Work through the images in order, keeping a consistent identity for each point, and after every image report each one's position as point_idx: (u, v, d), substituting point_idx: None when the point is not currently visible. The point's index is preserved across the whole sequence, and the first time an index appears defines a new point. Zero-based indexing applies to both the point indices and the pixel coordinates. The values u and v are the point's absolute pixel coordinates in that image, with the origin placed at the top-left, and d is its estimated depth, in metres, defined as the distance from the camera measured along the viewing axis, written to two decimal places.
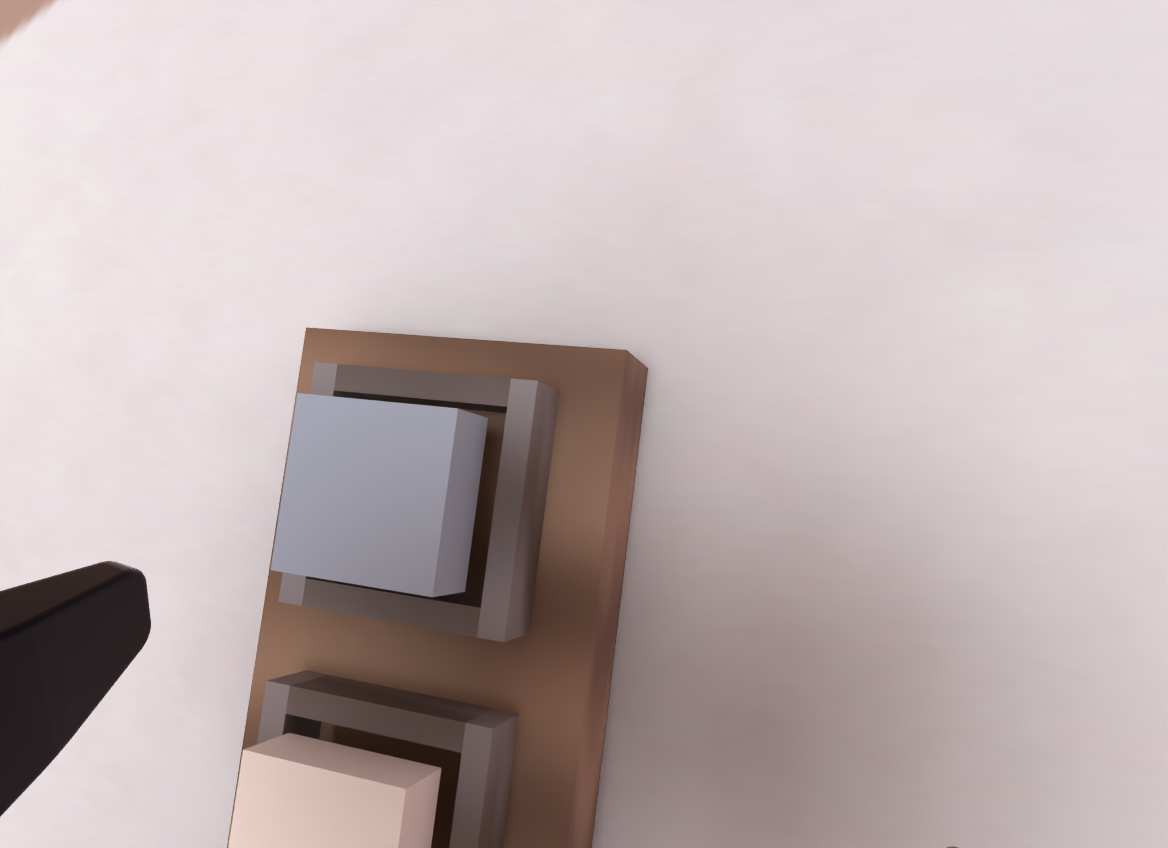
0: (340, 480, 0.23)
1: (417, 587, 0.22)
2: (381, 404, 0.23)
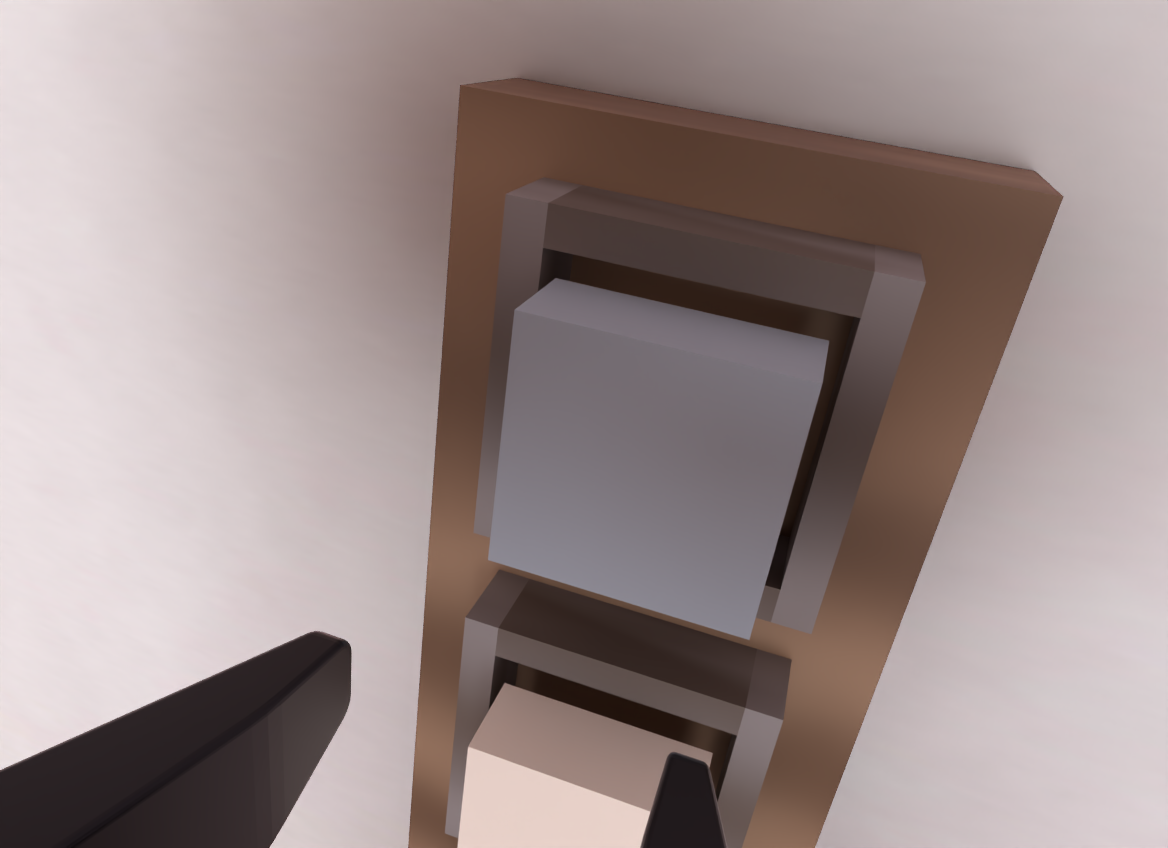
0: (598, 460, 0.14)
1: (726, 623, 0.15)
2: (675, 353, 0.13)
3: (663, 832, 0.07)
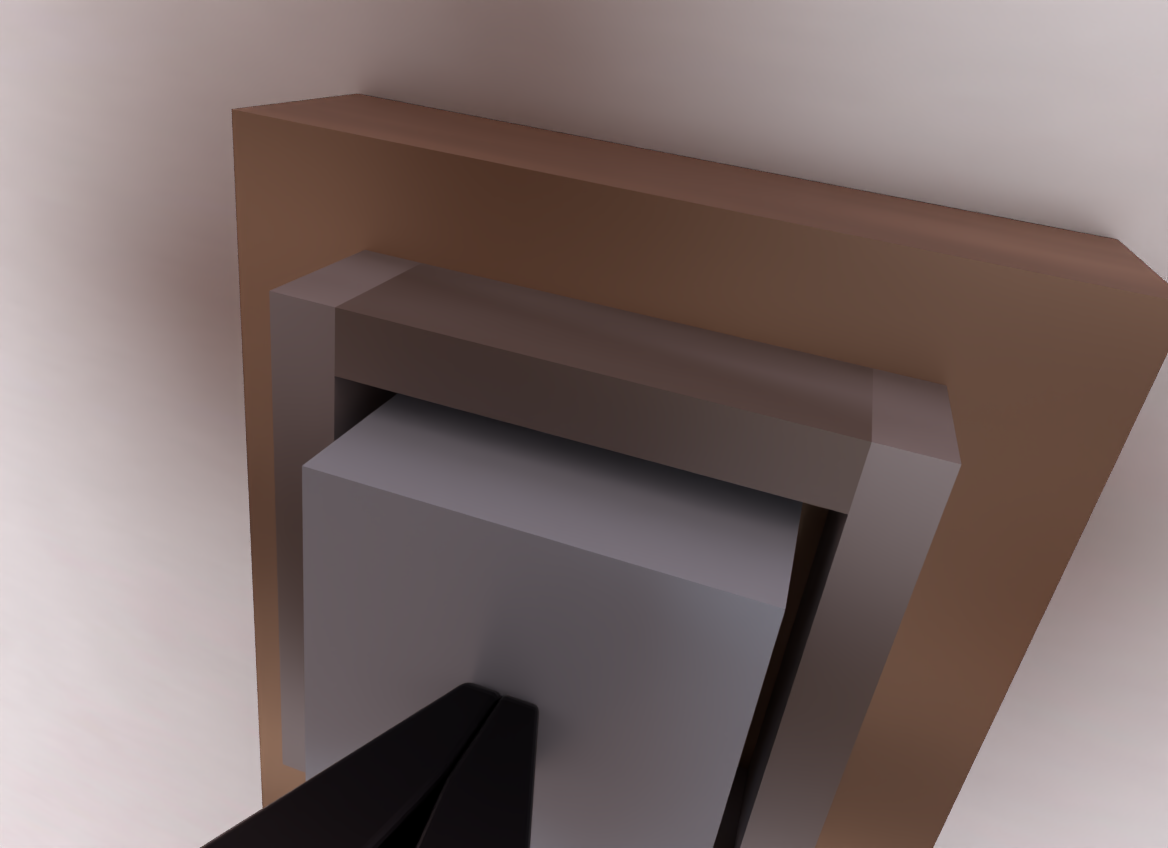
0: (446, 689, 0.09)
1: None
2: (549, 546, 0.08)
3: (472, 763, 0.08)
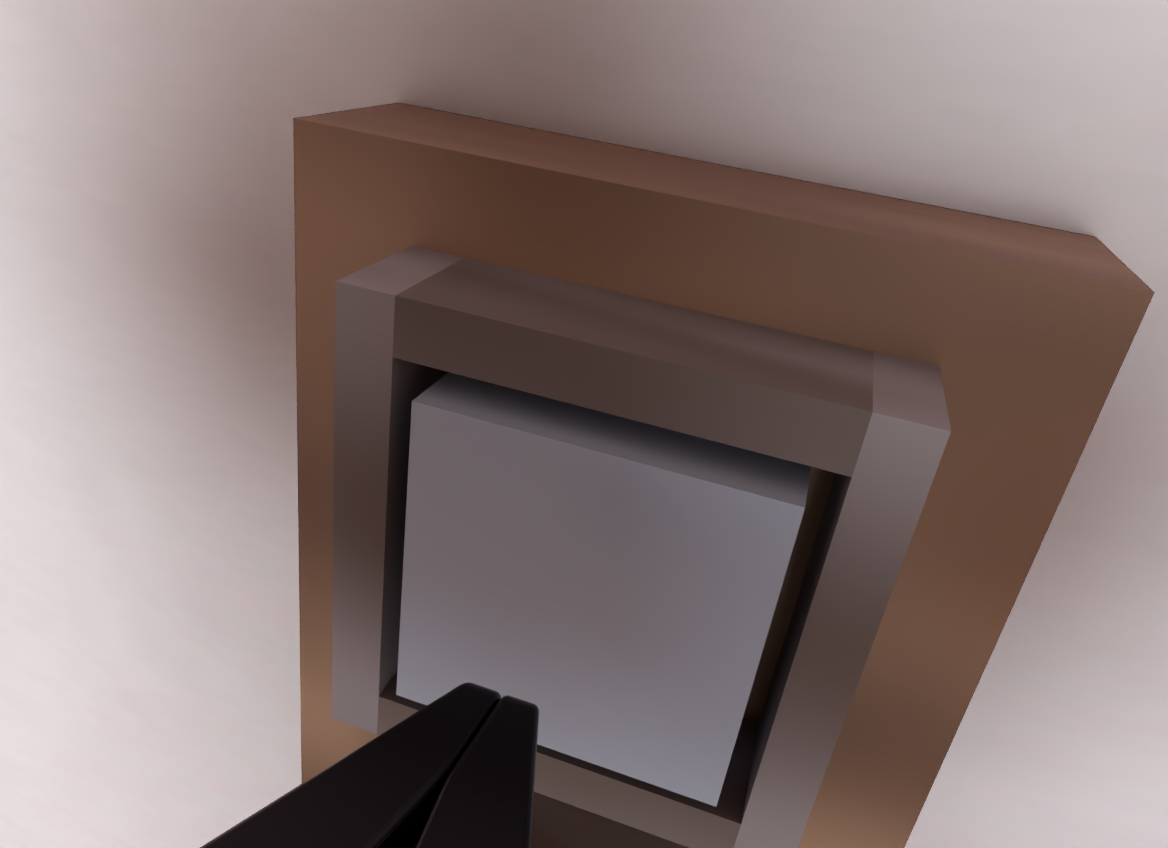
0: (524, 588, 0.11)
1: (687, 786, 0.12)
2: (614, 462, 0.10)
3: (472, 763, 0.08)
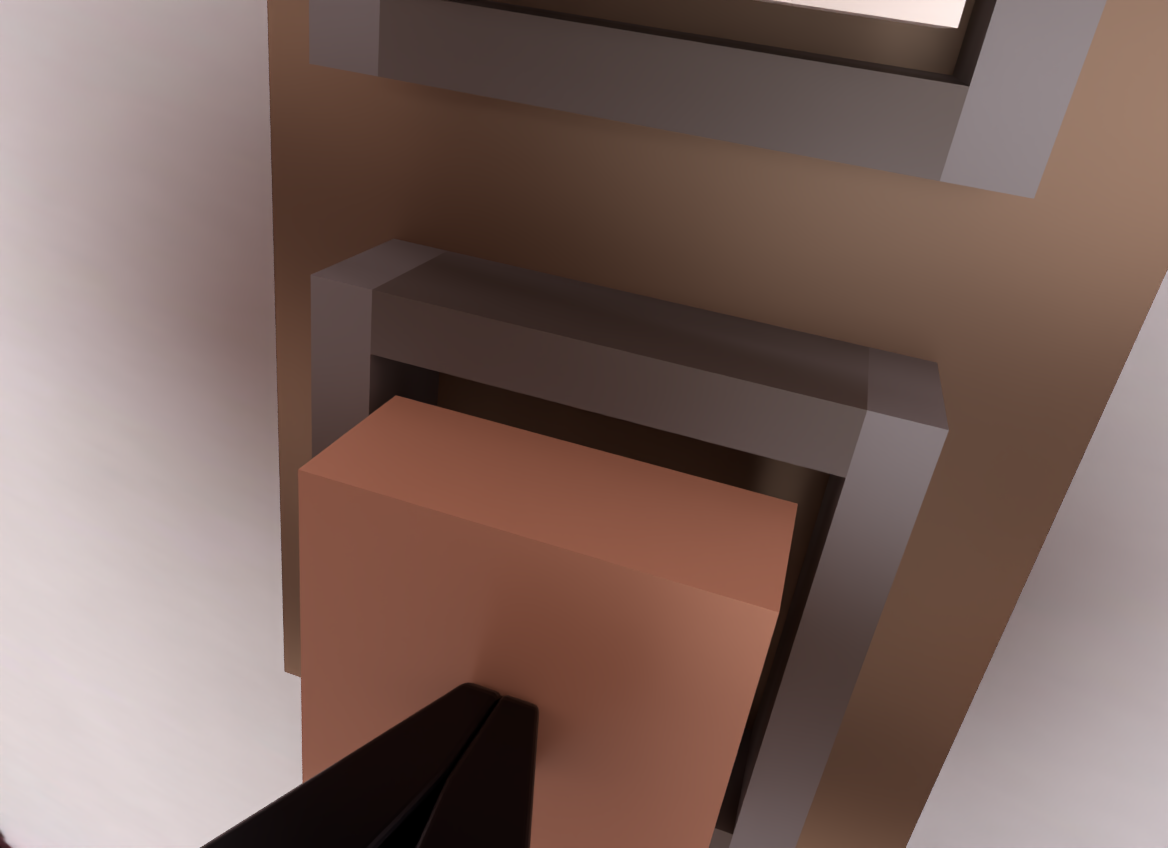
0: None
1: None
2: None
3: (472, 763, 0.08)
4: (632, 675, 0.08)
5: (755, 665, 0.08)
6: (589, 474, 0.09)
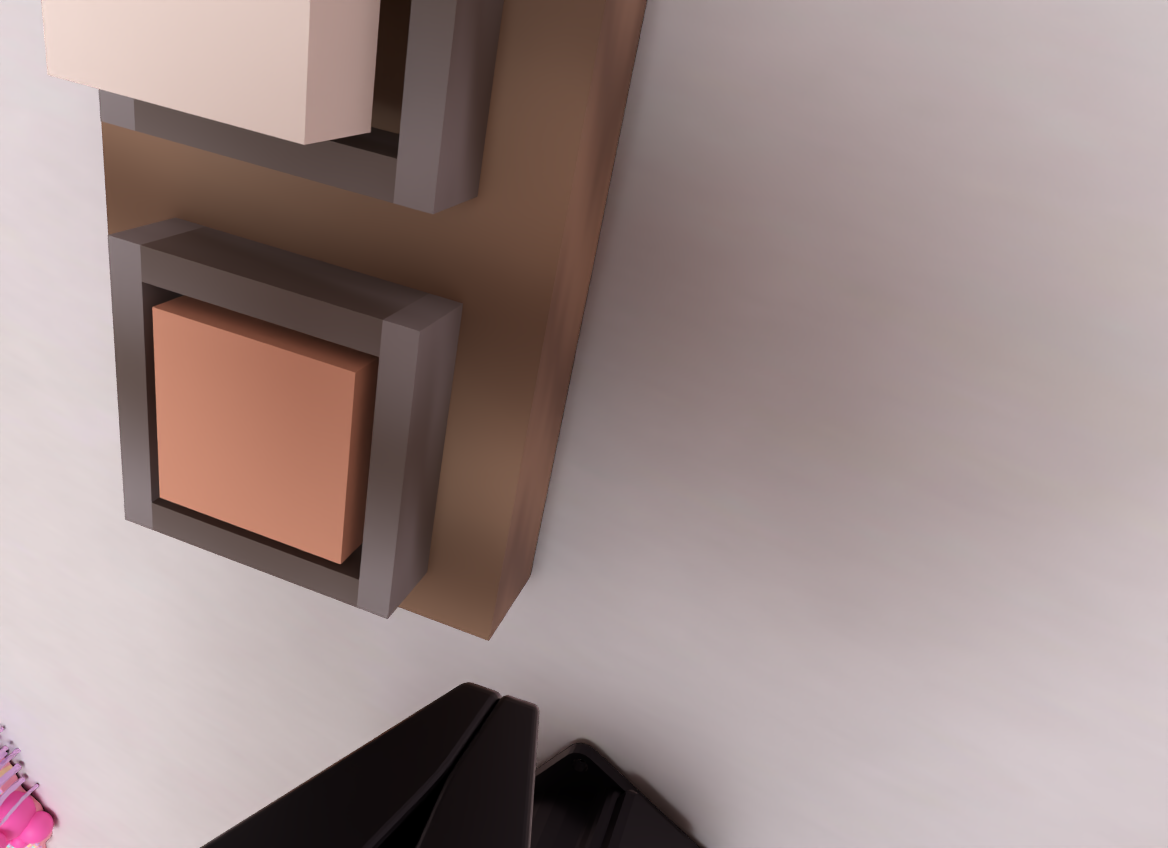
0: None
1: None
2: None
3: (472, 763, 0.08)
4: (302, 408, 0.18)
5: (350, 399, 0.18)
6: None
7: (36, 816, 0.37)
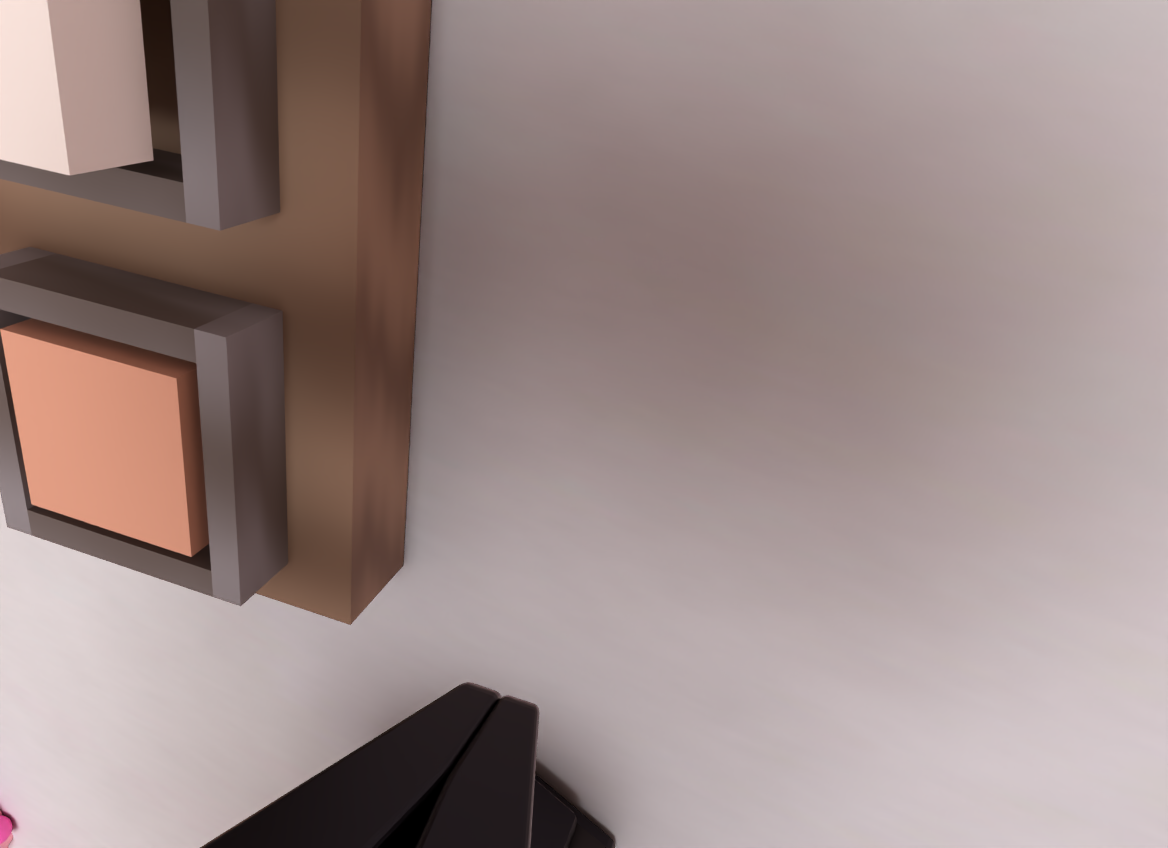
0: None
1: None
2: None
3: (472, 763, 0.08)
4: (138, 414, 0.20)
5: (176, 403, 0.19)
6: None
7: None
